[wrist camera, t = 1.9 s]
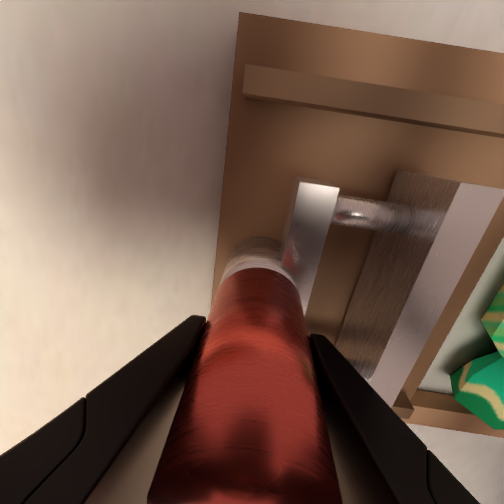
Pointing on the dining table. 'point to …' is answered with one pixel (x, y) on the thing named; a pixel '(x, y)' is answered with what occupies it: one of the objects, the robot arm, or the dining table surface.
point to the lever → (297, 341)
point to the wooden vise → (359, 157)
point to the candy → (485, 372)
